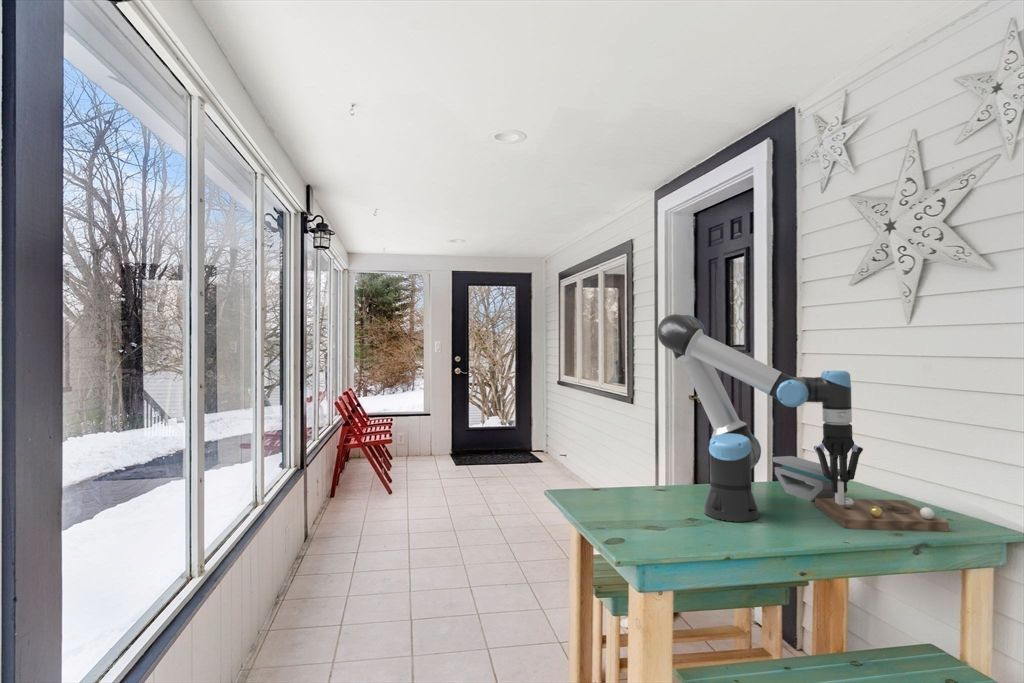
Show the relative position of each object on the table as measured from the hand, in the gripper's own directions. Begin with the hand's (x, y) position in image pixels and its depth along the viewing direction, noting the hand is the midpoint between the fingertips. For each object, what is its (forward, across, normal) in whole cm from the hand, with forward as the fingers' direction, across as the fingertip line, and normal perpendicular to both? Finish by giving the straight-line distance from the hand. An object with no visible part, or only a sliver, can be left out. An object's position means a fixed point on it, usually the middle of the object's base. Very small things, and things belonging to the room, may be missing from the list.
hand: (839, 503), depth 169 cm
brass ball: (0, +6, -8) cm, 10 cm away
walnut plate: (+4, +10, 0) cm, 11 cm away
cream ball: (0, +19, -8) cm, 21 cm away
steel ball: (0, +2, 0) cm, 2 cm away
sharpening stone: (+4, -1, +23) cm, 24 cm away
